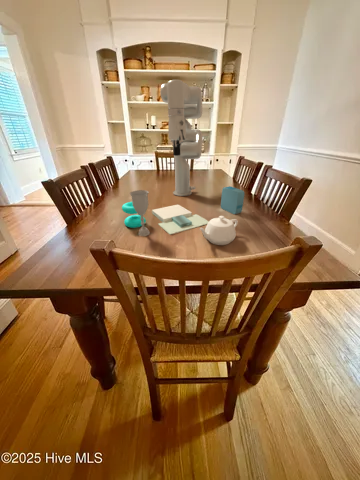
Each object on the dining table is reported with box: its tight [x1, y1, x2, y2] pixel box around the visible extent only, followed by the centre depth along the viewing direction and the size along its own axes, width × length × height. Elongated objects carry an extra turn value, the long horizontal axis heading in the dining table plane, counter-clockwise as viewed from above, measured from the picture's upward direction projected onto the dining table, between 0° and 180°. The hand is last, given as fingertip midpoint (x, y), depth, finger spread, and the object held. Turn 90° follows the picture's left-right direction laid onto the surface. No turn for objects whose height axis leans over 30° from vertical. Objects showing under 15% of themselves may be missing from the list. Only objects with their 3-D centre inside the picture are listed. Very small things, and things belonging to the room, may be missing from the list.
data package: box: [220, 185, 245, 215], centre depth 105 cm, size 12×4×12 cm, turn 30°
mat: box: [157, 213, 210, 236], centre depth 94 cm, size 22×12×1 cm, turn 120°
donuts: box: [121, 201, 147, 229], centre depth 92 cm, size 10×10×10 cm
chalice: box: [129, 189, 151, 237], centre depth 82 cm, size 7×7×18 cm
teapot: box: [199, 215, 239, 246], centre depth 79 cm, size 20×12×10 cm, turn 123°
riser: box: [151, 204, 193, 223], centre depth 104 cm, size 16×14×2 cm
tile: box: [172, 215, 192, 228], centre depth 94 cm, size 6×9×2 cm, turn 28°
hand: (176, 155), depth 103 cm, fingers closed
